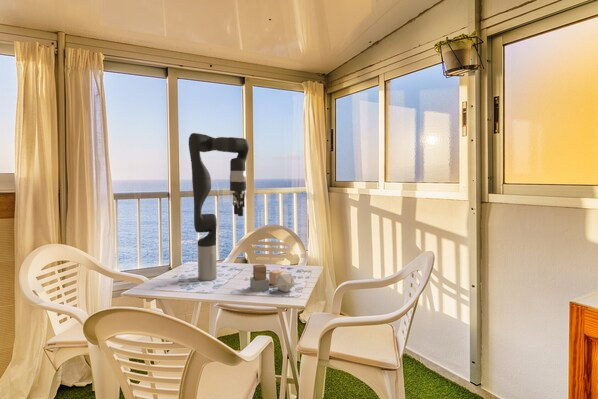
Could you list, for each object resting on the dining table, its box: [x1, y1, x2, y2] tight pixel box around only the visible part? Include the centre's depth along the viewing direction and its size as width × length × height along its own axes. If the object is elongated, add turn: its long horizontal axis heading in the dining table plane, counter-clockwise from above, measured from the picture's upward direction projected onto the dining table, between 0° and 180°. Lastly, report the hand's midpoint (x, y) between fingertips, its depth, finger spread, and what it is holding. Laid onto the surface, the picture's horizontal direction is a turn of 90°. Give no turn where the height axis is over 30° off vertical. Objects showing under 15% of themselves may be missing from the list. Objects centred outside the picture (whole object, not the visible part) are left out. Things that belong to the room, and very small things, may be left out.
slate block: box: [249, 276, 270, 293], centre depth 172 cm, size 7×7×5 cm
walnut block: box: [252, 263, 267, 280], centre depth 171 cm, size 5×5×6 cm
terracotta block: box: [268, 269, 284, 287], centre depth 180 cm, size 5×5×6 cm
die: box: [274, 271, 296, 293], centre depth 169 cm, size 8×9×10 cm
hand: (238, 215), depth 173 cm, fingers open, 8 cm apart
